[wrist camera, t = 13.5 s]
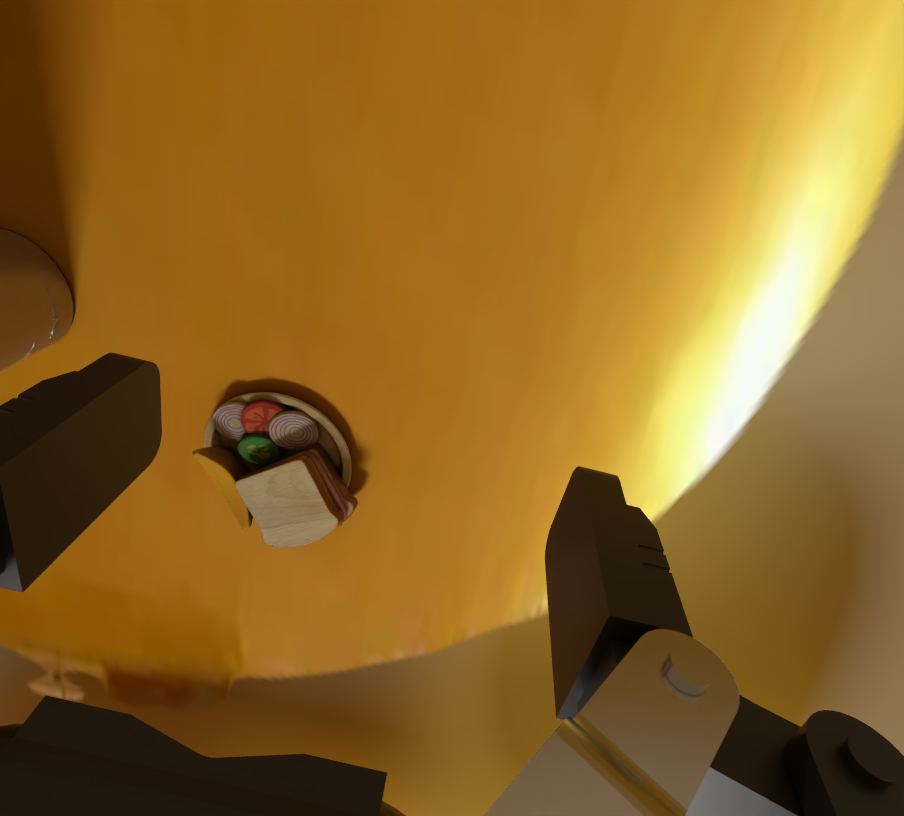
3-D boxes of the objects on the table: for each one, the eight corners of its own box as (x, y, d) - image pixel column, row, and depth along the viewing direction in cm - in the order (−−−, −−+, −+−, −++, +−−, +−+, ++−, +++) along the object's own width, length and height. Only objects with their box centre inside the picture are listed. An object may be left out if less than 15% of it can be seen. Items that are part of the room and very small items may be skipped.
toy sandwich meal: (319, 369, 44) (299, 397, 40) (380, 505, 50) (368, 541, 46) (183, 405, 47) (151, 434, 43) (255, 530, 53) (233, 566, 49)
